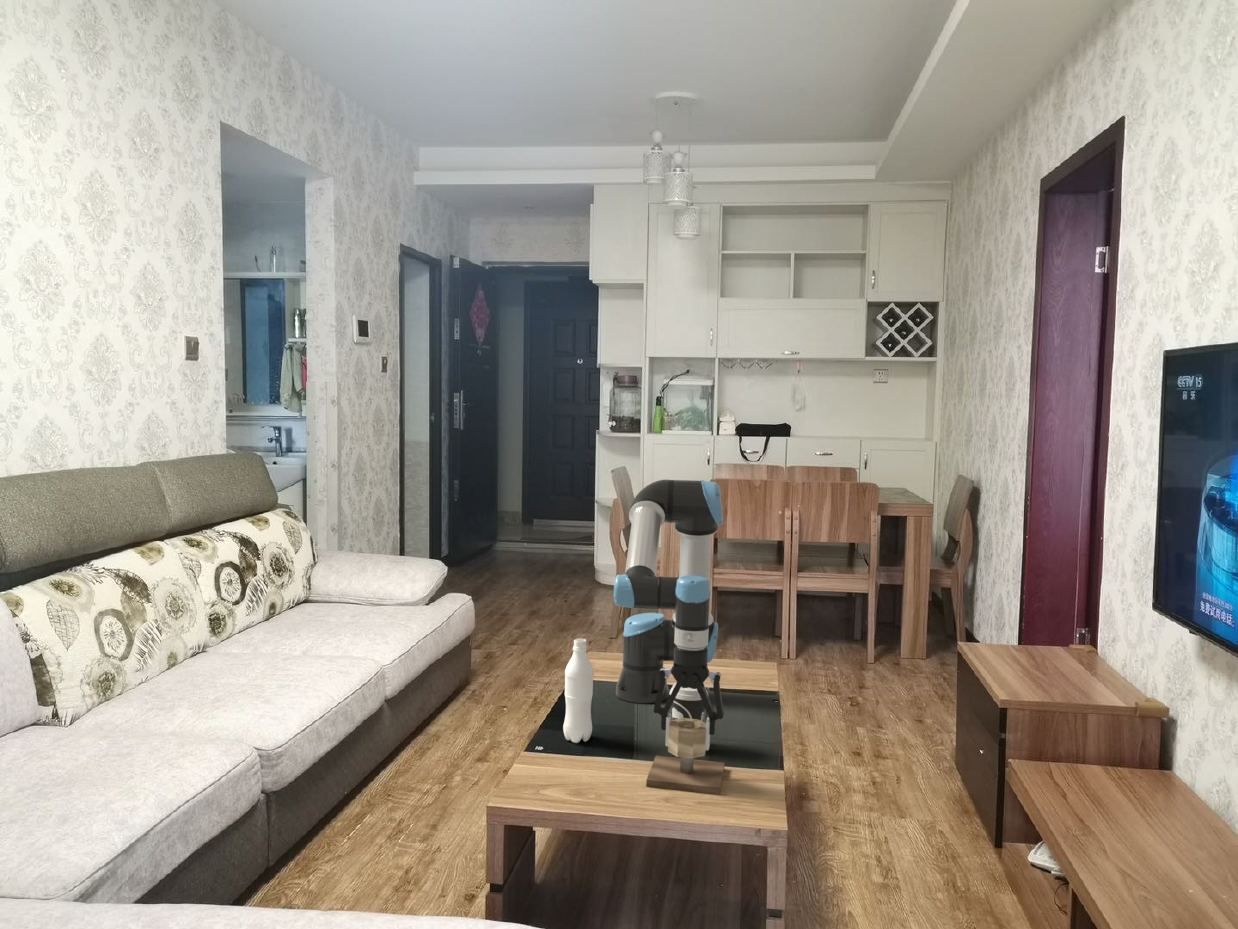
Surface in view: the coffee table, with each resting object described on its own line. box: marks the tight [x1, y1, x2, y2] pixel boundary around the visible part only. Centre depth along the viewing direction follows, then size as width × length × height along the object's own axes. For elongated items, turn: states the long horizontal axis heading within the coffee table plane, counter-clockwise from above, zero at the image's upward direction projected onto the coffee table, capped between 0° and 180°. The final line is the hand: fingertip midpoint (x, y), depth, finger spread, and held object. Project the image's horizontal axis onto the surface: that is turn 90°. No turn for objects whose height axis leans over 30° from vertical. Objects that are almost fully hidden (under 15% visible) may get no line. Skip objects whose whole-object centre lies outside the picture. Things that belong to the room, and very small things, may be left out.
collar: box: [667, 718, 707, 759], centre depth 201 cm, size 8×8×6 cm
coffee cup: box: [668, 681, 709, 722], centre depth 220 cm, size 10×10×15 cm
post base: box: [645, 725, 725, 795], centre depth 201 cm, size 14×16×12 cm
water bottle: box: [562, 638, 595, 744], centre depth 222 cm, size 7×7×25 cm
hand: (687, 746), depth 201 cm, fingers closed on collar, 8 cm apart
